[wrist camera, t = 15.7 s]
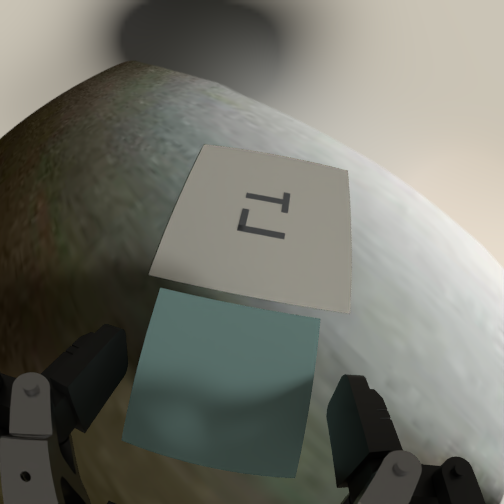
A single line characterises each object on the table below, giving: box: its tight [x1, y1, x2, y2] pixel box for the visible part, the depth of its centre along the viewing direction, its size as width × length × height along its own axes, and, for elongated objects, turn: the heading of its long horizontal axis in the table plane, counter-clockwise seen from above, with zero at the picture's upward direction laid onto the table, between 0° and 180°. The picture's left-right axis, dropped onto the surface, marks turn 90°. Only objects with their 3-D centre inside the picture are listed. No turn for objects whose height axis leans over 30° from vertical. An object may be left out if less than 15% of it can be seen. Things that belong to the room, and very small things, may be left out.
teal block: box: [122, 288, 320, 478], centre depth 13 cm, size 6×6×10 cm
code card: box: [149, 144, 352, 314], centre depth 24 cm, size 16×16×1 cm
